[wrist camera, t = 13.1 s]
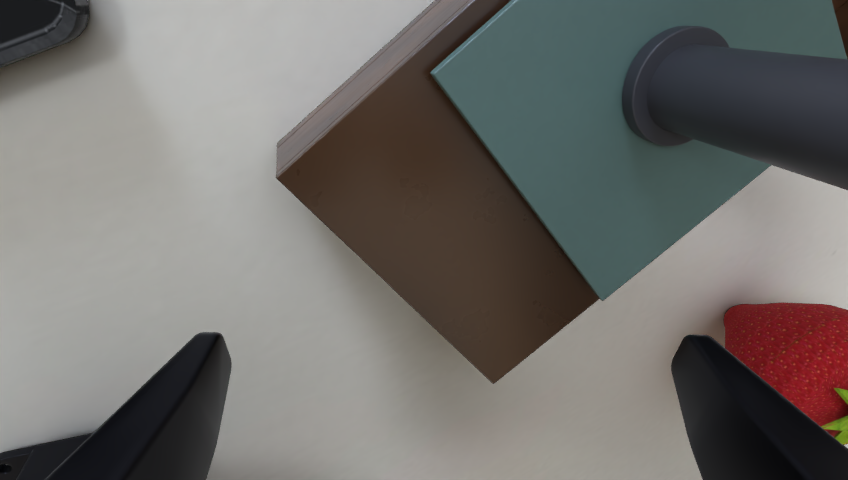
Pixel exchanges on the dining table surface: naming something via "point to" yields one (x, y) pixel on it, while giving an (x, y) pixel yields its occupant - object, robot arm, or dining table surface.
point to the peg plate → (650, 113)
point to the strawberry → (797, 356)
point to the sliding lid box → (437, 197)
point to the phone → (38, 26)
